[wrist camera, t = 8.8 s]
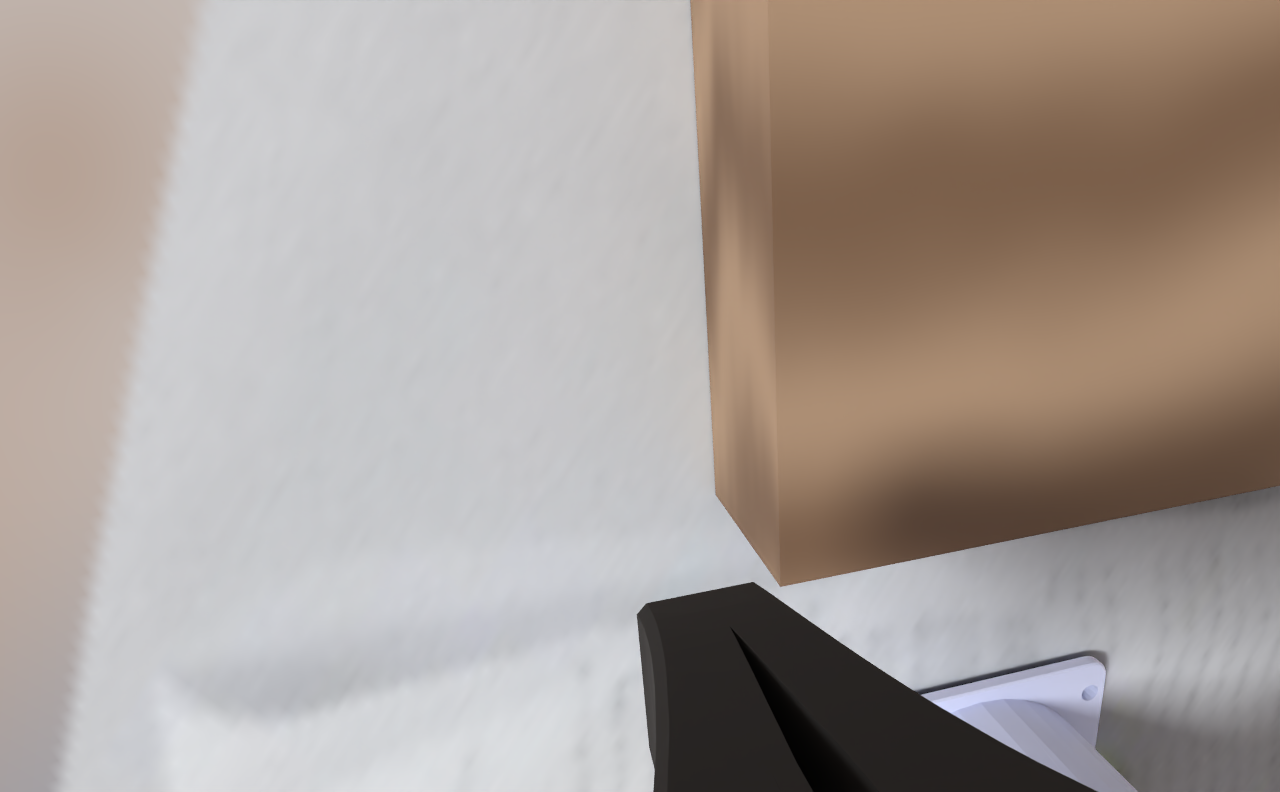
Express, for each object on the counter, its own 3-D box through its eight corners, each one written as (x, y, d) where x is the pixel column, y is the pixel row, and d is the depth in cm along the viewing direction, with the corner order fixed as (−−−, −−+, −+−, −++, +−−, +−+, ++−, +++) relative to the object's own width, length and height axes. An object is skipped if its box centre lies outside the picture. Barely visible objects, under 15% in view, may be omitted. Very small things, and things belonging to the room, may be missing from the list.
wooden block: (1158, 415, 22) (1305, 480, 18) (715, 494, 19) (780, 586, 16) (1255, -231, 17) (1486, -324, 13) (679, -223, 15) (760, -330, 11)
